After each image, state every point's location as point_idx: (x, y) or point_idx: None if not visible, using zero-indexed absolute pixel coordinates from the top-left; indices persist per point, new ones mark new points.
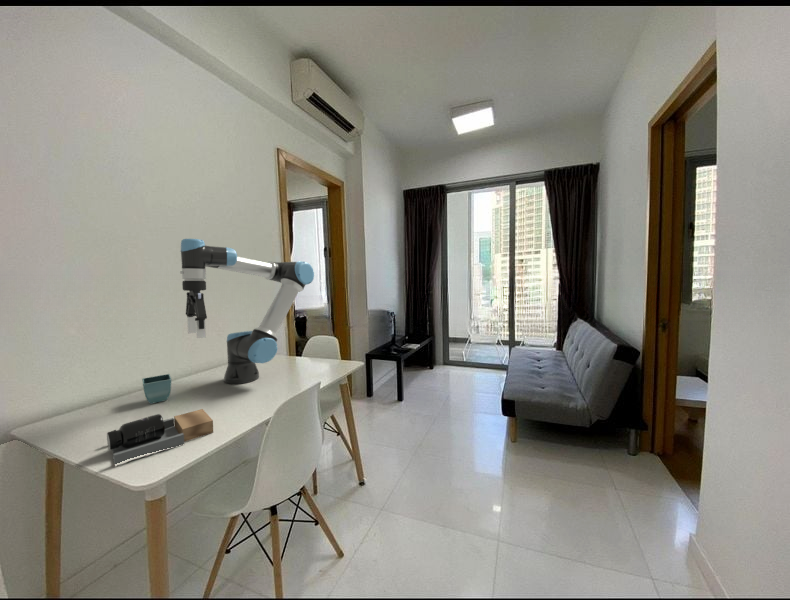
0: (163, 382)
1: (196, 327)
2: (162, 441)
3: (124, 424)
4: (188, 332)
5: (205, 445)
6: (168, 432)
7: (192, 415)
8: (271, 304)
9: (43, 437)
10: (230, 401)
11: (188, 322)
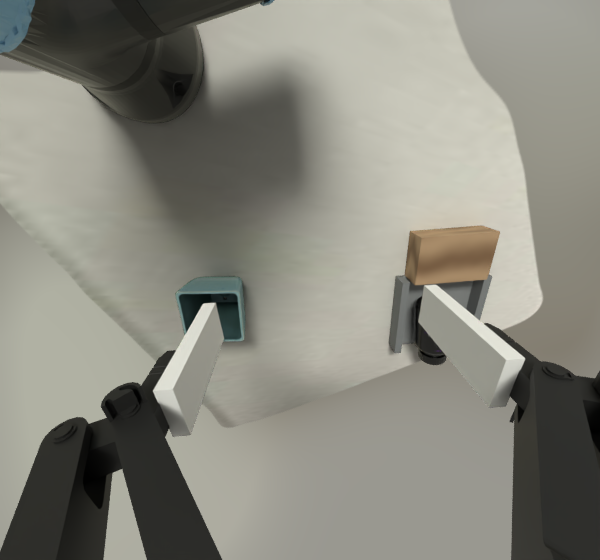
0: (241, 304)
1: (458, 364)
2: (483, 301)
3: (442, 354)
4: (222, 341)
5: (514, 244)
6: (423, 286)
7: (440, 258)
8: None
9: (296, 400)
10: (346, 154)
11: (205, 391)
